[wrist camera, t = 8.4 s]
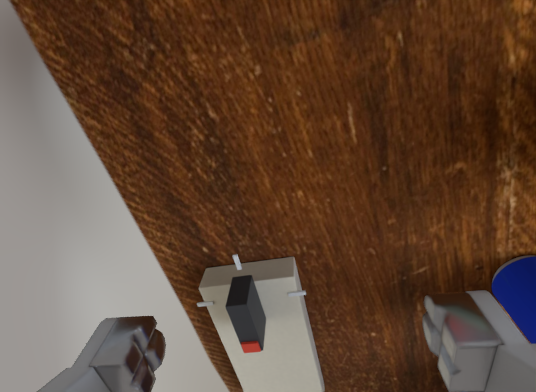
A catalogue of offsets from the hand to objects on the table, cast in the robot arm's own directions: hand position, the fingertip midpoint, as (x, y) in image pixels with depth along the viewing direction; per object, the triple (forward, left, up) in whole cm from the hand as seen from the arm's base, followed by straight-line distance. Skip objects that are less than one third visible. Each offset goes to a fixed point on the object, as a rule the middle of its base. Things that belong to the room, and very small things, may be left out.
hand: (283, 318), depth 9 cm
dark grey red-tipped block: (+7, -10, -12) cm, 17 cm away
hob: (+12, -12, -14) cm, 22 cm away
